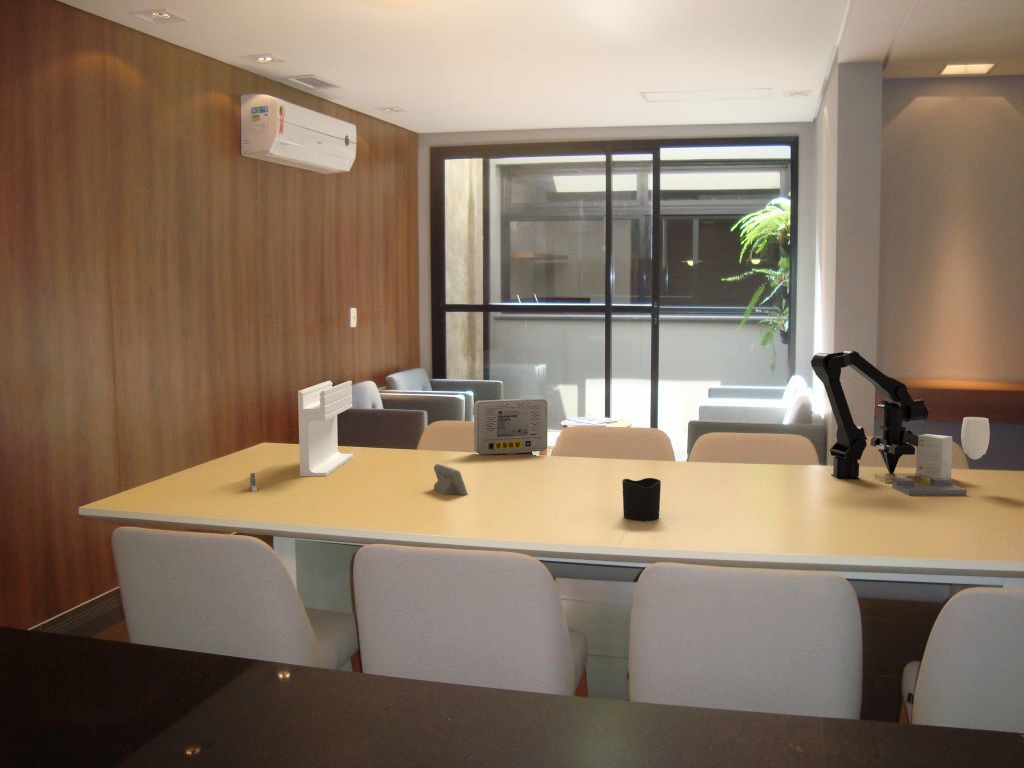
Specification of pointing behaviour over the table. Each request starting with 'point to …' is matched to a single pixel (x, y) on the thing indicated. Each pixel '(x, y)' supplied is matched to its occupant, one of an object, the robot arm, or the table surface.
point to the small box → (934, 455)
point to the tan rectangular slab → (916, 477)
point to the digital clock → (449, 481)
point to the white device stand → (321, 427)
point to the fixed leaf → (928, 487)
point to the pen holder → (641, 499)
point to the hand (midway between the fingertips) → (891, 473)
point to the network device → (510, 426)
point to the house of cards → (252, 482)
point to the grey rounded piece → (975, 436)
